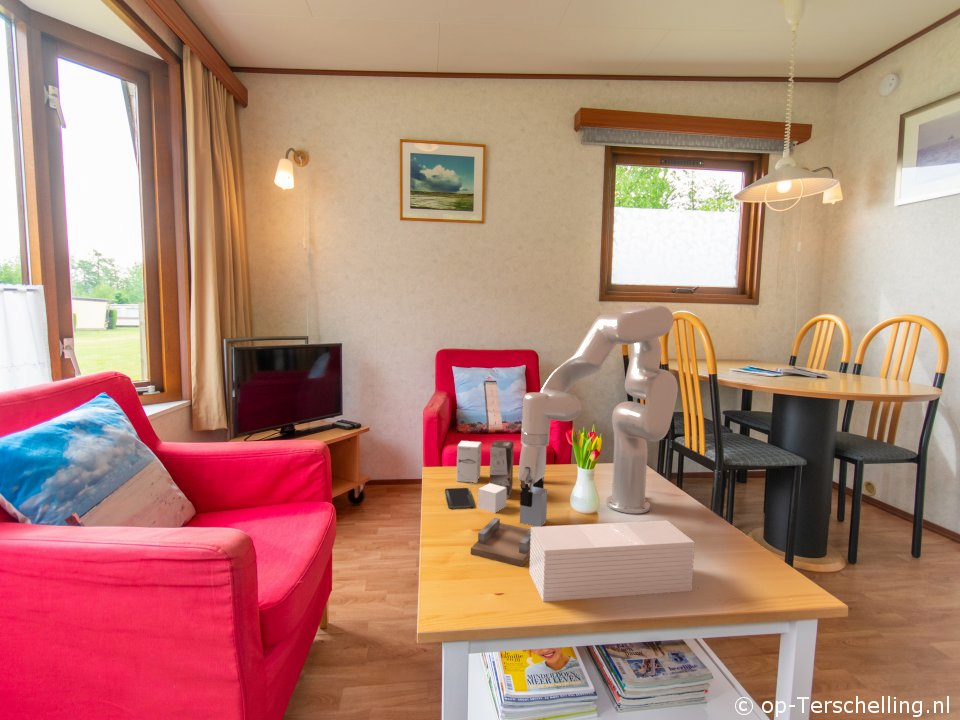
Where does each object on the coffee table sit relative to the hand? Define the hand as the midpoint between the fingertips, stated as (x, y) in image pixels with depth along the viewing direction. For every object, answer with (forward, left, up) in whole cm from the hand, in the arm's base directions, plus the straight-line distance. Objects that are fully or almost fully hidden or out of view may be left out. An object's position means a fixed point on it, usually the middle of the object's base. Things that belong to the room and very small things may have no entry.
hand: (531, 499), depth 131 cm
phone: (-6, -25, -7) cm, 27 cm away
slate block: (0, 0, -6) cm, 6 cm away
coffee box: (-16, -16, -7) cm, 24 cm away
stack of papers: (+21, +24, -7) cm, 33 cm away
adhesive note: (-4, -14, -7) cm, 16 cm away
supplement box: (-23, -31, -7) cm, 39 cm away
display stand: (+16, -1, -6) cm, 17 cm away
